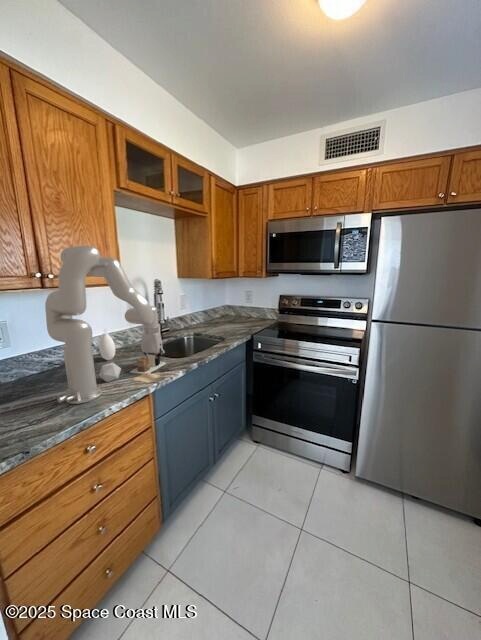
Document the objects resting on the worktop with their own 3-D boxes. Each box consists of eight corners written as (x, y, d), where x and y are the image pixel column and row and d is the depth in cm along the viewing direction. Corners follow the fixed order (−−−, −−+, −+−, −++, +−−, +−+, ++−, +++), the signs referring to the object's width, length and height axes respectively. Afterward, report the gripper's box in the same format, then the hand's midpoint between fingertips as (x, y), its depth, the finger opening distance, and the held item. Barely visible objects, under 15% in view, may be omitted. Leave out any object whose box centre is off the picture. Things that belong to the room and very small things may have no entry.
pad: (148, 383, 117) (148, 382, 117) (132, 381, 120) (131, 380, 120) (160, 375, 126) (160, 374, 126) (144, 373, 129) (144, 372, 128)
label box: (154, 366, 137) (153, 355, 135) (148, 365, 138) (147, 354, 137) (159, 363, 140) (158, 352, 139) (153, 363, 142) (152, 352, 140)
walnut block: (144, 372, 129) (143, 360, 128) (137, 371, 130) (136, 359, 129) (149, 369, 133) (148, 358, 132) (143, 368, 134) (142, 357, 133)
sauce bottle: (118, 359, 150) (115, 328, 147) (104, 363, 144) (100, 331, 141) (112, 356, 155) (109, 326, 152) (98, 360, 149) (94, 329, 146)
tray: (147, 375, 126) (147, 373, 126) (130, 373, 130) (130, 371, 129) (166, 364, 141) (166, 362, 141) (150, 362, 144) (150, 360, 144)
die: (121, 383, 120) (125, 362, 124) (102, 379, 114) (107, 358, 118) (112, 385, 125) (117, 365, 129) (93, 382, 119) (99, 361, 123)
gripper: (132, 331, 135) (135, 365, 138) (160, 333, 129) (163, 368, 133) (142, 328, 142) (145, 360, 145) (169, 329, 136) (171, 363, 140)
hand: (153, 364), depth 139 cm, fingers closed on label box, 4 cm apart
